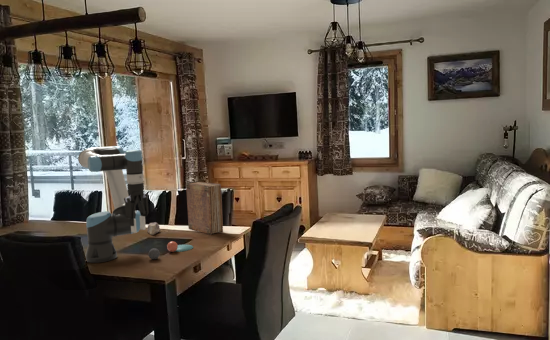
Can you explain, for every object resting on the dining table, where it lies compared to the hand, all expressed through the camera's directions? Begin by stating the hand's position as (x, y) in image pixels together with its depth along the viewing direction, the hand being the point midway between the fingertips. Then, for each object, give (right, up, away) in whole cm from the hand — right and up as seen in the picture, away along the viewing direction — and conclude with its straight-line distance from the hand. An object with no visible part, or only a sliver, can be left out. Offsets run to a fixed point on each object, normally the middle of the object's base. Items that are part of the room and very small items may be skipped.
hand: (138, 230), depth 215 cm
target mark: (+14, -13, +29) cm, 35 cm away
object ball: (+11, -11, +22) cm, 27 cm away
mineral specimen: (-11, -11, +66) cm, 68 cm away
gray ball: (+5, -13, +10) cm, 17 cm away
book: (+22, -9, +68) cm, 72 cm away
